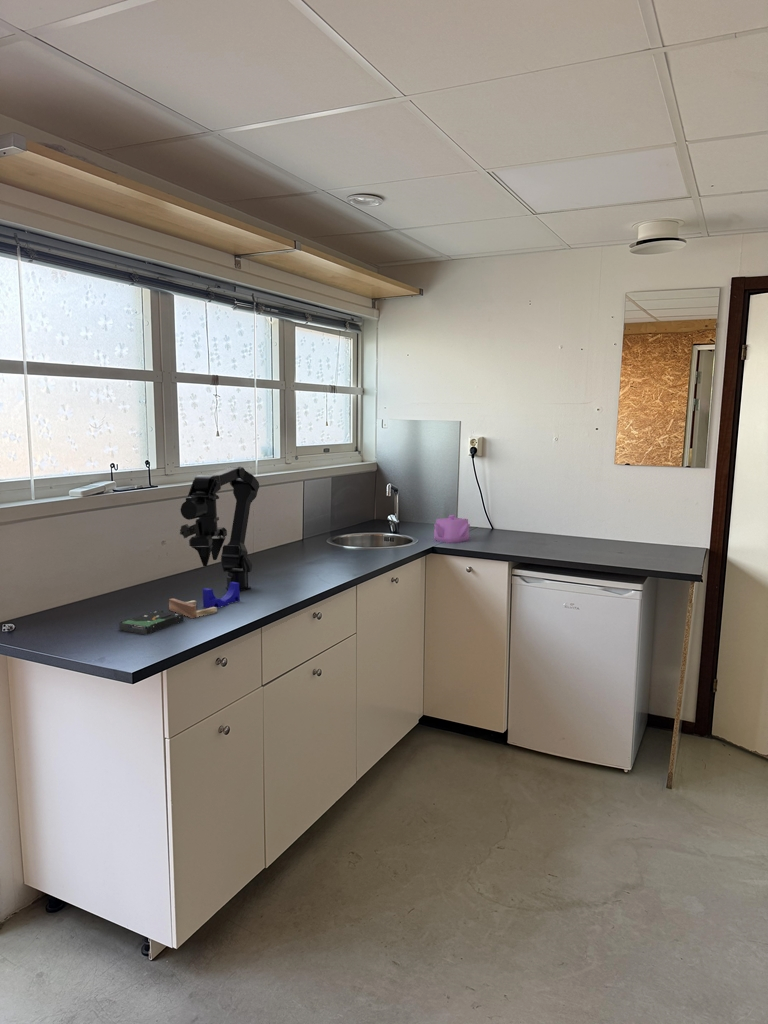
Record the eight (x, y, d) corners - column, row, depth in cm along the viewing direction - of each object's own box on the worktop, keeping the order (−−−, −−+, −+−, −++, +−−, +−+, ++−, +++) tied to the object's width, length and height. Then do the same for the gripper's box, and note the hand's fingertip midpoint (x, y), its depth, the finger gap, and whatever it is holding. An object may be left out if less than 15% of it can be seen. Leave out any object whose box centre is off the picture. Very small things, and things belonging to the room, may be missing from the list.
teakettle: (468, 537, 343) (468, 512, 342) (470, 543, 326) (470, 517, 325) (433, 537, 344) (433, 512, 343) (433, 543, 327) (433, 517, 326)
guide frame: (193, 604, 219) (193, 594, 219) (217, 612, 211) (216, 601, 210) (169, 610, 213) (168, 599, 213) (192, 618, 205) (191, 606, 204)
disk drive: (157, 618, 207) (118, 631, 194) (156, 609, 207) (118, 621, 193) (184, 622, 202) (146, 636, 189) (184, 613, 202) (146, 626, 189)
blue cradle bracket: (212, 609, 214) (211, 590, 214) (203, 607, 217) (202, 588, 216) (242, 601, 224) (242, 583, 223) (233, 599, 226) (233, 581, 226)
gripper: (193, 510, 231) (196, 556, 233) (171, 519, 212) (174, 569, 215) (226, 510, 230) (228, 556, 232) (206, 519, 211) (209, 569, 214)
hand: (210, 563), depth 223 cm, fingers open, 9 cm apart
